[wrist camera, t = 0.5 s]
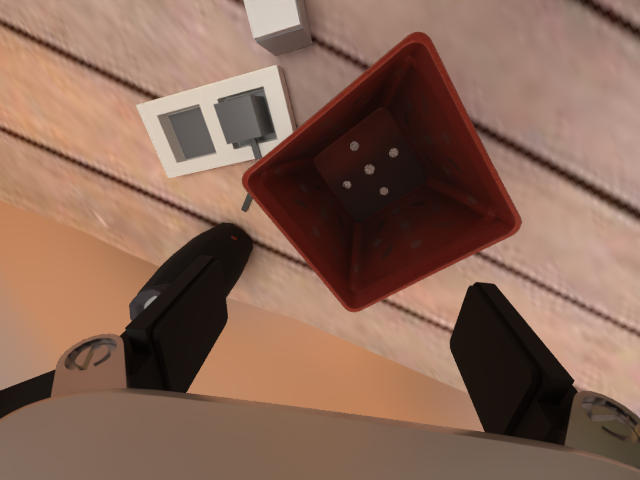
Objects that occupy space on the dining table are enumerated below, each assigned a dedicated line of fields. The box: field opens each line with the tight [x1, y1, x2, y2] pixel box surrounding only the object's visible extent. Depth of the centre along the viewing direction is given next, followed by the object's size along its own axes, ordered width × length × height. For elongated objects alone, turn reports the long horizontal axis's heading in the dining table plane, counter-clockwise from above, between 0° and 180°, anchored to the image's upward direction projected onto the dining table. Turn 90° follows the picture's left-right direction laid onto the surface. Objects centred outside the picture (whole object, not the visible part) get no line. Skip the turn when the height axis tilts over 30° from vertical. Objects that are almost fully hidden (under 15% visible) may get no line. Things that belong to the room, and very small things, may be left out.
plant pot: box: [242, 32, 522, 312], centre depth 33 cm, size 19×19×17 cm
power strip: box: [136, 65, 297, 212], centre depth 39 cm, size 18×20×7 cm
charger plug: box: [244, 0, 313, 56], centre depth 30 cm, size 5×5×9 cm
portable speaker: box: [129, 223, 253, 321], centre depth 39 cm, size 9×9×20 cm
